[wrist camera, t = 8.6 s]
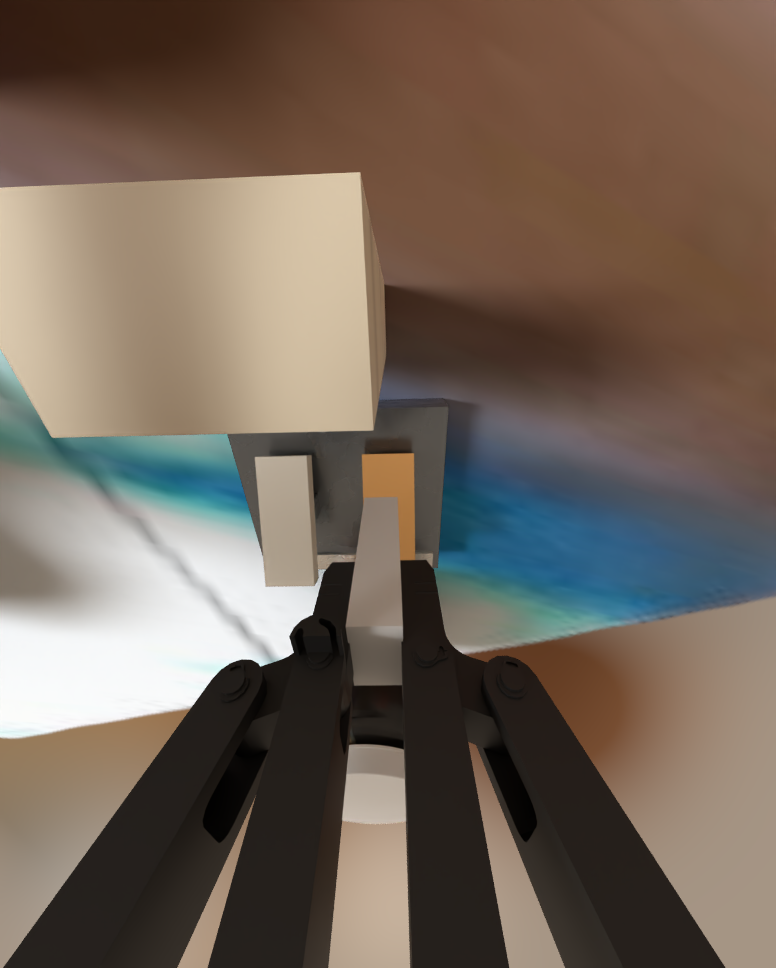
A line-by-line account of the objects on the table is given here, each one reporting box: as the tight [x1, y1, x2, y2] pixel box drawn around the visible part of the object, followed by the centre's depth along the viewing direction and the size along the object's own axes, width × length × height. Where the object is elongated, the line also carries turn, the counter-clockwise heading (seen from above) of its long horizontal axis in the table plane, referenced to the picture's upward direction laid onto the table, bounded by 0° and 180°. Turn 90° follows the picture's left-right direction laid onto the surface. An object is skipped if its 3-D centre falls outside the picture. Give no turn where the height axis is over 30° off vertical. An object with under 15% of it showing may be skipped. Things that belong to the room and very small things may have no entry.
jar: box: [342, 681, 406, 824], centre depth 26 cm, size 12×12×15 cm
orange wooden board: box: [362, 453, 415, 560], centre depth 21 cm, size 3×9×1 cm, turn 2°
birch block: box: [0, 172, 386, 438], centre depth 13 cm, size 7×4×16 cm, turn 92°
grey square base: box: [228, 398, 448, 569], centre depth 24 cm, size 15×14×4 cm
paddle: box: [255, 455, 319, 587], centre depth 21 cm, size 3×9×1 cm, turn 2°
